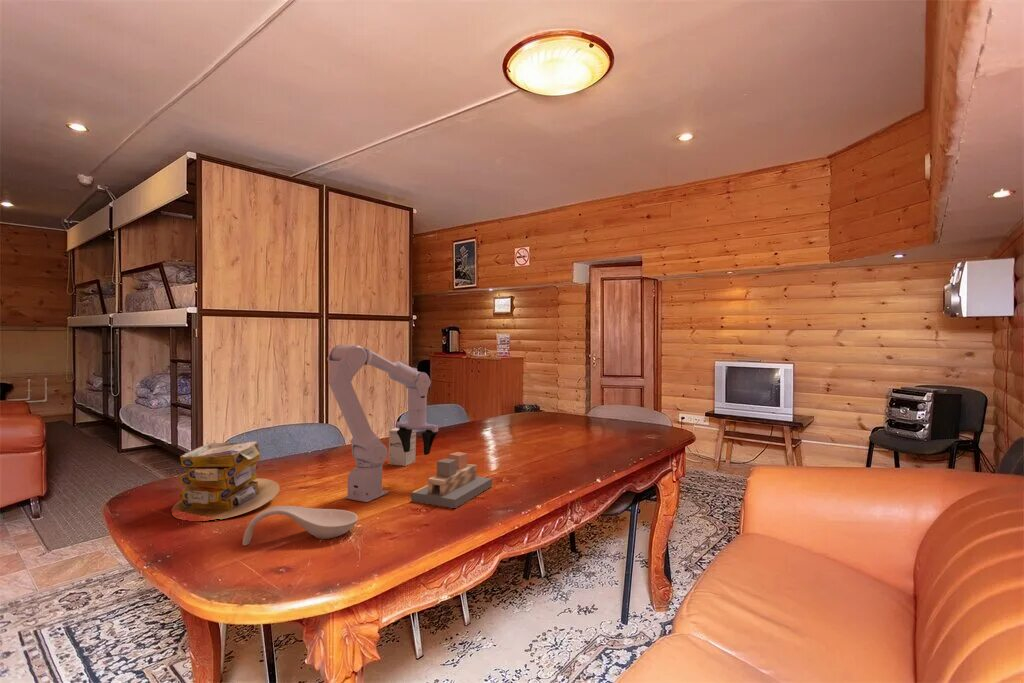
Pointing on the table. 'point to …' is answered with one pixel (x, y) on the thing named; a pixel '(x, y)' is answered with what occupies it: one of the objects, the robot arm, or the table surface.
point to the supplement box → (401, 449)
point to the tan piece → (452, 480)
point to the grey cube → (446, 467)
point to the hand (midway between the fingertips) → (416, 453)
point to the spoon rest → (309, 520)
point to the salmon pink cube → (459, 459)
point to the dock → (452, 493)
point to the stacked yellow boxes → (223, 481)
